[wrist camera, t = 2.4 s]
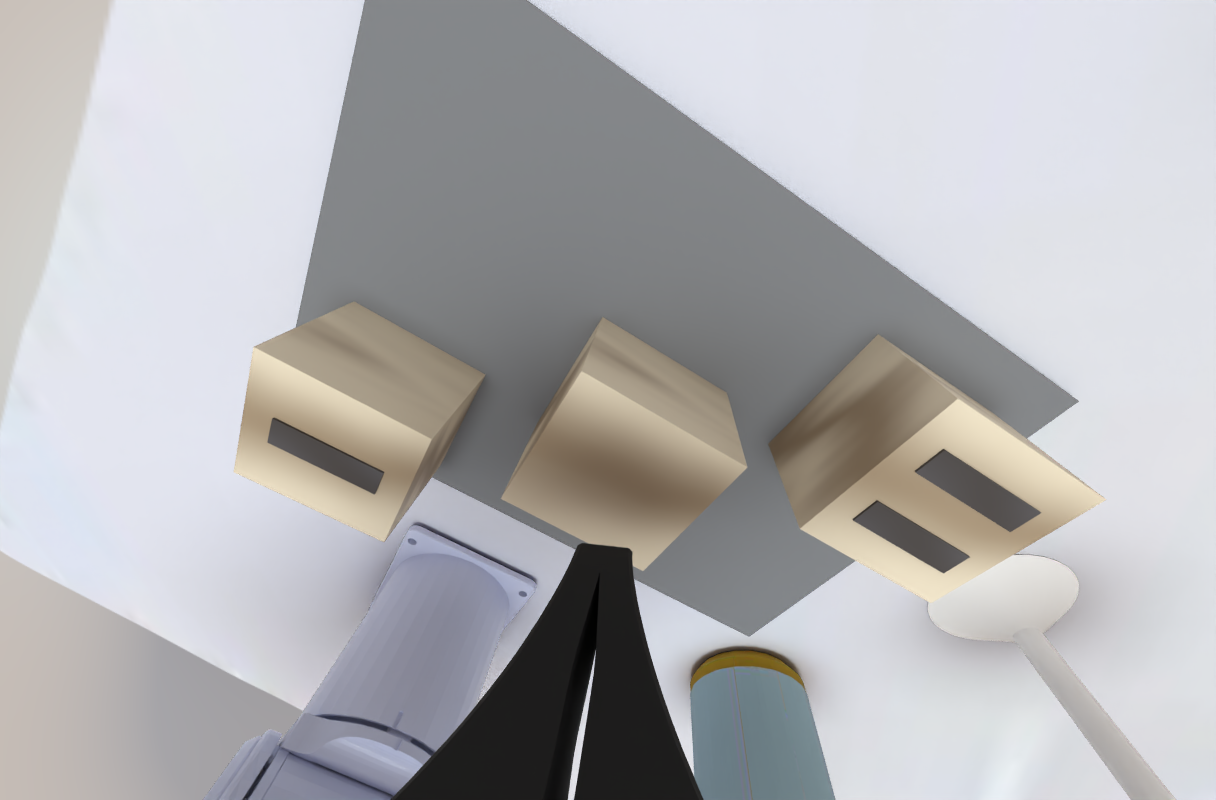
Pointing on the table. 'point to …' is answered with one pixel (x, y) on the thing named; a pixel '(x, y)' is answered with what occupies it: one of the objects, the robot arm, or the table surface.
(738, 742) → the bottle
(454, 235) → the charcoal rubber mat
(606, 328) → the plain birch block
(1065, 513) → the two-bar birch block
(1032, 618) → the champagne flute
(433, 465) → the one-bar birch block
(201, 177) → the table surface
